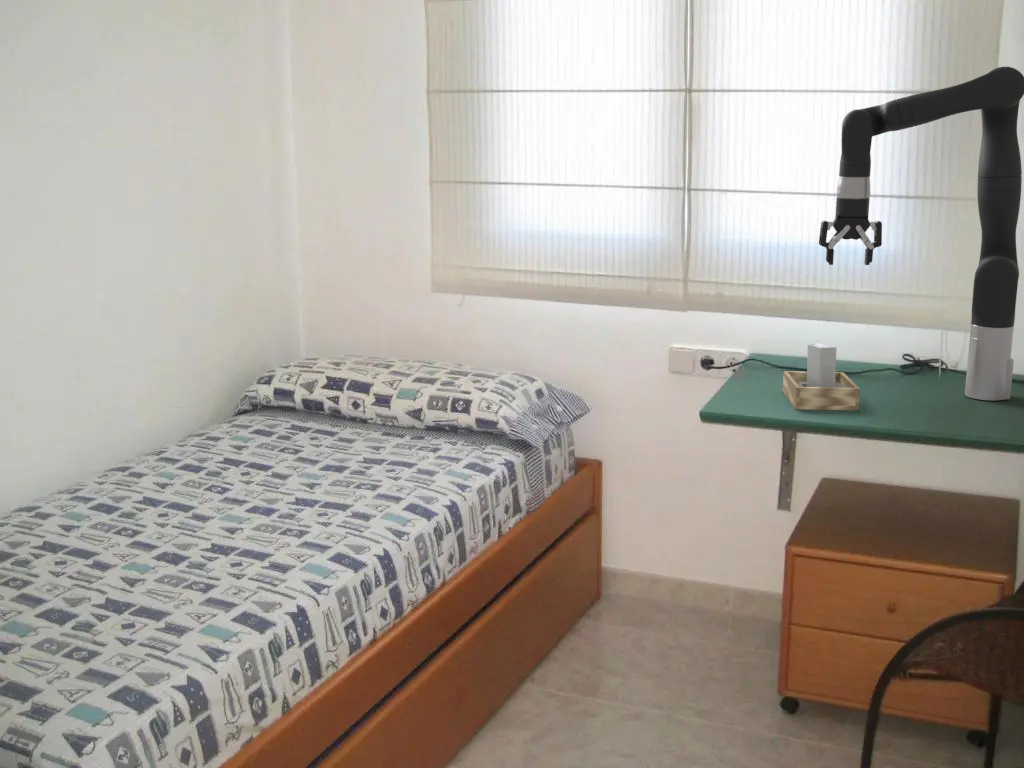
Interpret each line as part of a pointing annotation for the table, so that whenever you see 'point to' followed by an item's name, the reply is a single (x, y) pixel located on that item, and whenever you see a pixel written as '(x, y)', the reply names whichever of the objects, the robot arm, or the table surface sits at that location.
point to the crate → (820, 393)
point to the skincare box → (821, 365)
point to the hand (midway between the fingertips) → (848, 264)
